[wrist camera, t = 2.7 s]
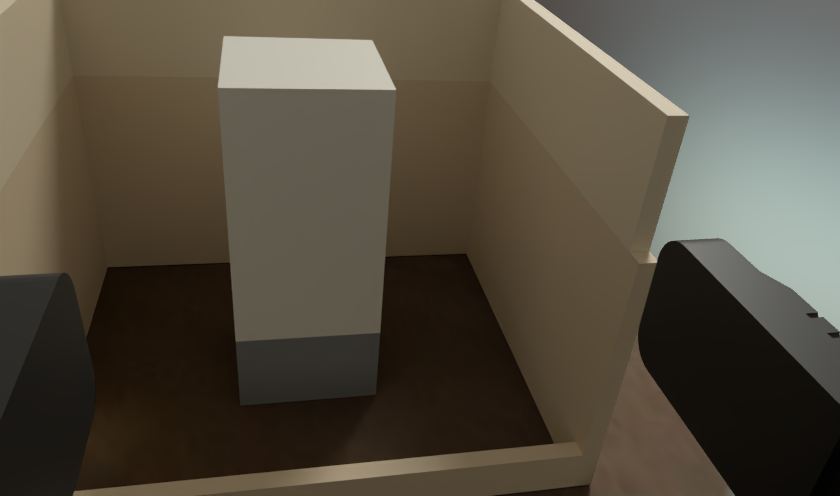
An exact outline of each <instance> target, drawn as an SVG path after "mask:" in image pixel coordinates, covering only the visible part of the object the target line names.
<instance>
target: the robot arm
mask: <svg viewBox="0 0 840 496" xmlns="http://www.w3.org/2000/svg"><path fill="white" fill-rule="evenodd" d="M839 333H840V332H839V331H838V330H837V329H836V328H835V327H834V326H832V325H831V324H830V323H829V322H828V321H827V320H826V319H825V318H824V317H820V318H819V317H818V312H817V311H816V310H815V309H813V308H812V307H811V306H810V305H809V304H808V303H807V302H806V301H805V300H803V299H802V298H801V297H800V296H799V295H798V294H797V293H796V292H795V291H793V290H792V289H791V288H789V287H787V286H785V285H784V284H781V283H780V282H778V281H776V280H774V279H773V278H771V277H769V276H767V275H765V274H764V273H762V272H760V271H759V270H758V269H757V268H755V267H754V266H753V265H752V264H751V263H750V262H749V261H748V260H747V259H746V258H745V257H743V256H742V255H741V254H740V253H739V252H738V251H737V250H736V249H735V248H734V247H732V246H731V245H730V244H729V243H728V242H727V241H725V240H723V239H718V238H717V239H699V240H681V241H670V242H668V243H667V244H665V245H664V247H663V248H662V250H661V251H660V254H659V257H658V260H657V264H656V267H655V271H654V274H653V278H652V282H651V285H650V289H649V292H648V296H647V300H646V303H645V307H644V310H643V314H642V318H641V321H640V325H639V331H638V344H639V351H640V355H641V358H642V361H643V363H644V365H645V367H646V369H647V370H648V372H649V373H650V375H651V376H652V377H653V379H654V380H655V382H656V383H657V385H658V386H659V387H660V389H661V390H662V392H663V393H664V395H665V396H666V397H667V399H668V400H669V402H670V403H671V405H672V406H673V407H674V409H675V410H676V412H677V413H678V415H679V416H680V417H681V419H682V420H683V422H684V423H685V425H686V426H687V427H688V429H689V430H690V432H691V433H692V435H693V436H694V437H695V439H696V440H697V442H698V443H699V445H700V446H701V447H702V449H703V450H704V452H705V453H706V455H707V456H708V457H709V459H710V460H711V462H712V463H713V465H714V466H715V467H716V469H717V470H718V472H719V473H720V475H721V476H722V477H723V479H724V480H725V482H726V483H727V485H728V486H729V487H730V489H731V490H732V492H733V493H734V495H735V496H840V335H839ZM94 408H95V377H94V370H93V365H92V360H91V356H90V352H89V348H88V343H87V339H86V335H85V330H84V326H83V322H82V317H81V313H80V309H79V305H78V300H77V296H76V292H75V288H74V284H73V282H72V279H71V278H70V276H69V275H68V274H67V273H46V274H28V275H9V276H0V496H73V494H74V490H75V486H76V482H77V478H78V474H79V470H80V467H81V463H82V459H83V455H84V451H85V447H86V443H87V439H88V436H89V432H90V428H91V424H92V420H93V415H94Z"/></svg>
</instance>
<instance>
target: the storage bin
mask: <svg viewBox="0 0 840 496" xmlns="http://www.w3.org/2000/svg"><path fill="white" fill-rule="evenodd" d="M224 36H237V37H275V38H313V39H352V40H372V41H373V43H374V45H375V47H376V49H377V51H378V53H379V55H380V57H381V59H382V61H383V63H384V65H385V67H386V70H387V72H388V74H389V76H390V78H391V80H392V82H393V84H394V86H395V88H396V102H395V117H394V132H393V147H392V162H391V177H390V192H389V207H388V222H387V237H386V252H385V257H389V256H415V255H442V254H467V256H468V258H469V261H470V263H471V265H472V267H473V269H474V271H475V274H476V276H477V278H478V280H479V282H480V284H481V286H482V289H483V291H484V293H485V295H486V297H487V299H488V302H489V304H490V306H491V308H492V310H493V312H494V315H495V317H496V319H497V321H498V323H499V325H500V328H501V330H502V332H503V334H504V336H505V338H506V341H507V343H508V345H509V347H510V349H511V351H512V353H513V356H514V358H515V360H516V362H517V364H518V366H519V369H520V371H521V373H522V375H523V377H524V379H525V382H526V384H527V386H528V388H529V390H530V392H531V395H532V397H533V399H534V401H535V403H536V405H537V408H538V410H539V412H540V414H541V416H542V418H543V420H544V423H545V425H546V427H547V429H548V431H549V433H550V436H551V438H552V440H553V442H554V444H547V445H537V446H527V447H517V448H507V449H497V450H487V451H477V452H466V453H456V454H446V455H436V456H426V457H416V458H406V459H396V460H386V461H376V462H365V463H355V464H345V465H335V466H325V467H315V468H305V469H295V470H285V471H274V472H264V473H254V474H244V475H234V476H224V477H214V478H204V479H194V480H183V481H173V482H163V483H153V484H143V485H133V486H123V487H113V488H103V489H93V490H82V491H74V494H73V496H493V495H502V494H511V493H520V492H528V491H537V490H546V489H555V488H564V487H573V486H582V485H590V484H591V481H592V478H593V475H594V472H595V468H596V465H597V462H598V459H599V455H600V452H601V449H602V446H603V443H604V439H605V436H606V433H607V430H608V426H609V423H610V420H611V417H612V414H613V410H614V407H615V404H616V401H617V397H618V394H619V391H620V388H621V385H622V381H623V378H624V375H625V372H626V369H627V365H628V362H629V359H630V356H631V352H632V349H633V346H634V343H635V340H636V336H637V333H638V330H639V325H640V321H641V318H642V314H643V310H644V307H645V303H646V300H647V296H648V292H649V289H650V285H651V282H652V278H653V274H654V271H655V267H656V264H657V259H656V258H655V257H654V256H653V255H652V254H651V253H650V251H649V250H650V246H651V243H652V240H653V236H654V233H655V230H656V226H657V223H658V220H659V216H660V213H661V210H662V206H663V203H664V199H665V196H666V193H667V190H668V186H669V182H670V179H671V176H672V173H673V169H674V166H675V163H676V159H677V156H678V153H679V149H680V146H681V143H682V139H683V136H684V133H685V129H686V126H687V123H688V119H689V115H688V114H687V113H685V112H684V111H683V110H681V109H680V108H678V107H677V106H676V105H674V104H673V103H672V102H670V101H669V100H668V99H666V98H665V97H664V96H662V95H661V94H660V93H658V92H657V91H656V90H654V89H653V88H652V87H650V86H649V85H648V84H646V83H645V82H643V81H642V80H641V79H639V78H638V77H637V76H635V75H634V74H633V73H631V72H630V71H629V70H627V69H626V68H624V67H623V66H622V65H621V64H619V63H618V62H617V61H615V60H614V59H613V58H611V57H610V56H608V55H607V54H606V53H604V52H603V51H602V50H600V49H599V48H598V47H596V46H595V45H594V44H592V43H591V42H590V41H588V40H587V39H586V38H584V37H583V36H581V35H580V34H579V33H578V32H576V31H575V30H573V29H572V28H571V27H569V26H568V25H567V24H565V23H564V22H563V21H561V20H560V19H559V18H557V17H556V16H555V15H553V14H552V13H551V12H549V11H548V10H546V9H545V8H544V7H543V6H541V5H540V4H538V3H537V2H536V1H534V0H0V276H9V275H28V274H46V273H67V274H68V275H69V276H70V278H71V279H72V282H73V284H74V288H75V292H76V296H77V300H78V305H79V309H80V313H81V317H82V322H83V326H84V330H85V335H86V337H87V334H88V331H89V328H90V324H91V321H92V318H93V314H94V311H95V308H96V304H97V301H98V298H99V295H100V291H101V288H102V285H103V281H104V278H105V275H106V271H107V268H108V267H128V266H154V265H180V264H206V263H230V255H229V241H228V227H227V213H226V198H225V184H224V170H223V156H222V142H221V128H220V114H219V100H218V81H219V72H220V63H221V55H222V46H223V38H224Z"/></svg>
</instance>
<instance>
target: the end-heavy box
mask: <svg viewBox="0 0 840 496" xmlns="http://www.w3.org/2000/svg"><path fill="white" fill-rule="evenodd" d="M218 100H219V114H220V128H221V142H222V156H223V170H224V184H225V198H226V213H227V227H228V241H229V255H230V269H231V283H232V297H233V311H234V325H235V340H236V354H237V368H238V382H239V396H240V406H242V405H255V404H267V403H280V402H293V401H305V400H318V399H330V398H343V397H356V396H368V395H376V388H377V373H378V358H379V343H380V328H381V313H382V298H383V283H384V267H385V252H386V237H387V222H388V207H389V192H390V177H391V162H392V147H393V132H394V117H395V102H396V88H395V86H394V84H393V82H392V80H391V78H390V76H389V74H388V72H387V70H386V67H385V65H384V63H383V61H382V59H381V57H380V55H379V53H378V51H377V49H376V47H375V45H374V43H373V41H372V40H352V39H313V38H275V37H237V36H224V38H223V46H222V55H221V63H220V72H219V81H218Z"/></svg>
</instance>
